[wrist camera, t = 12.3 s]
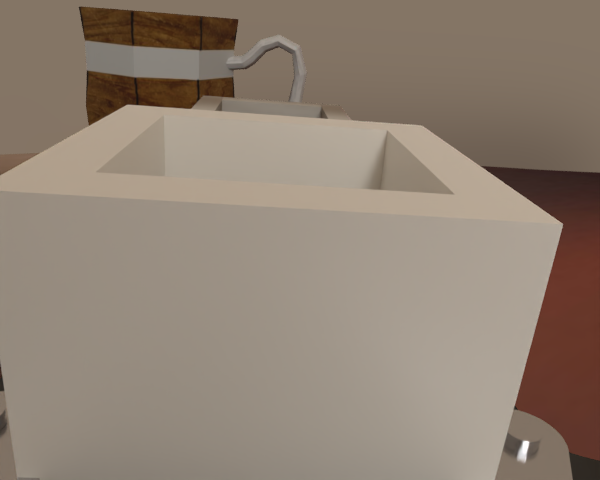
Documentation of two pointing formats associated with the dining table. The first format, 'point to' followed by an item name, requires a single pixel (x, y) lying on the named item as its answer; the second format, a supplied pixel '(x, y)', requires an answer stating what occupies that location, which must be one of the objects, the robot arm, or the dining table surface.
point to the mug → (167, 59)
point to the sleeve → (263, 301)
